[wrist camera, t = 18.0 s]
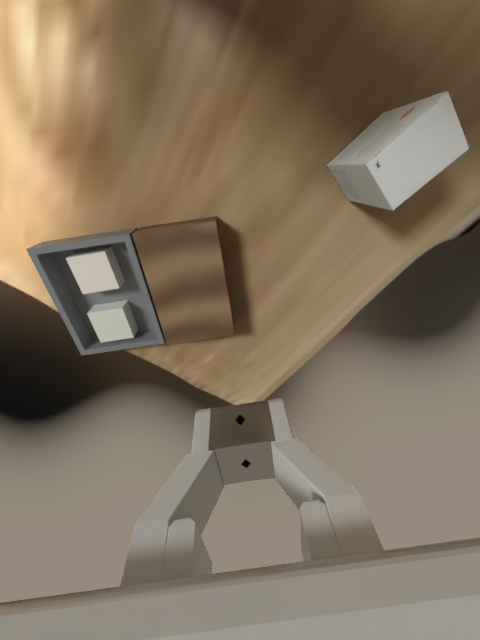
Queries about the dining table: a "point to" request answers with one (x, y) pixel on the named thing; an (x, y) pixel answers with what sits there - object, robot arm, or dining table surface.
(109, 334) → the tile
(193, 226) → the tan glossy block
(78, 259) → the tile
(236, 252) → the dining table surface
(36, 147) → the dining table surface
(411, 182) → the small box
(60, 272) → the bin
